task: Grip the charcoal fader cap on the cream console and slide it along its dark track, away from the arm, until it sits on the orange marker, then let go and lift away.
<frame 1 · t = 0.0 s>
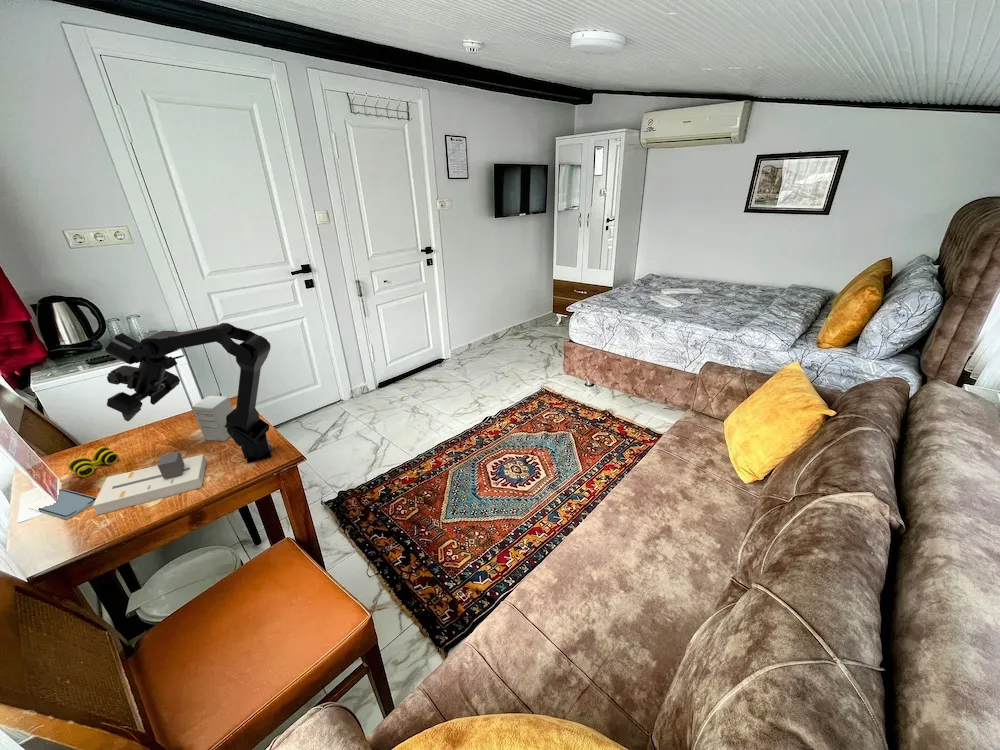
hand: (140, 411, 119), 15 cm above the table, tool tilted 35°, fingers open, 9 cm apart
console: (156, 486, 112), on the table
fader: (171, 464, 111), point 6 cm above the table, slide at -5.0 cm
opera glasses: (98, 468, 119), on the table
smartphone: (65, 505, 106), on the table
supplement box: (222, 434, 134), on the table
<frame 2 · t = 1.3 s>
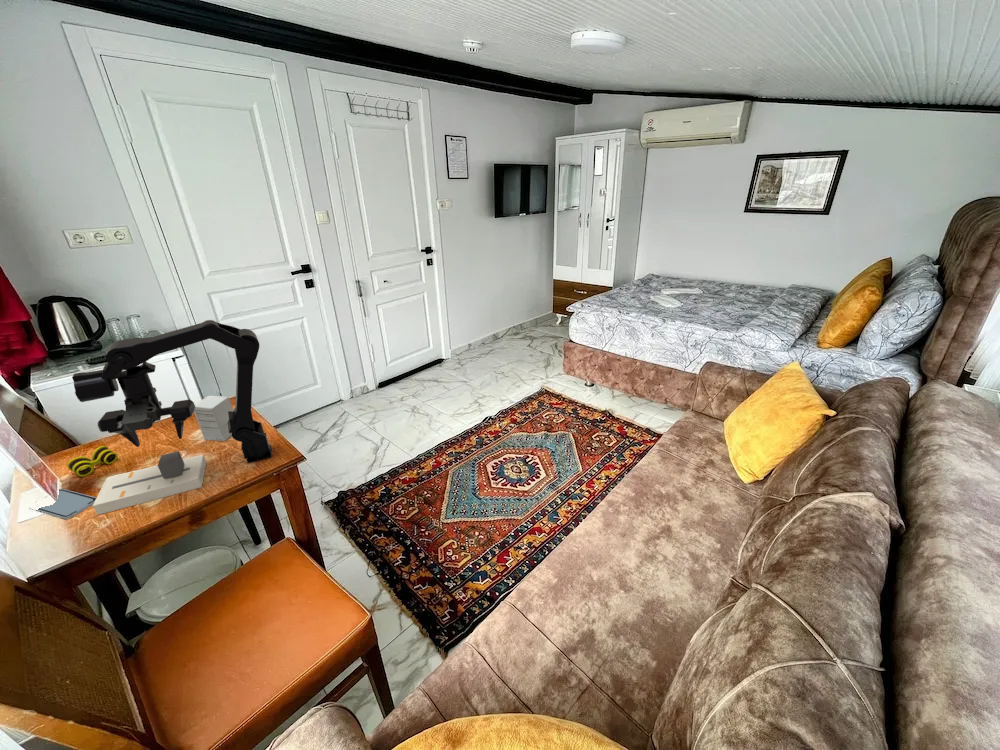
hand: (160, 442, 108), 13 cm above the table, tool pointing down, fingers open, 9 cm apart
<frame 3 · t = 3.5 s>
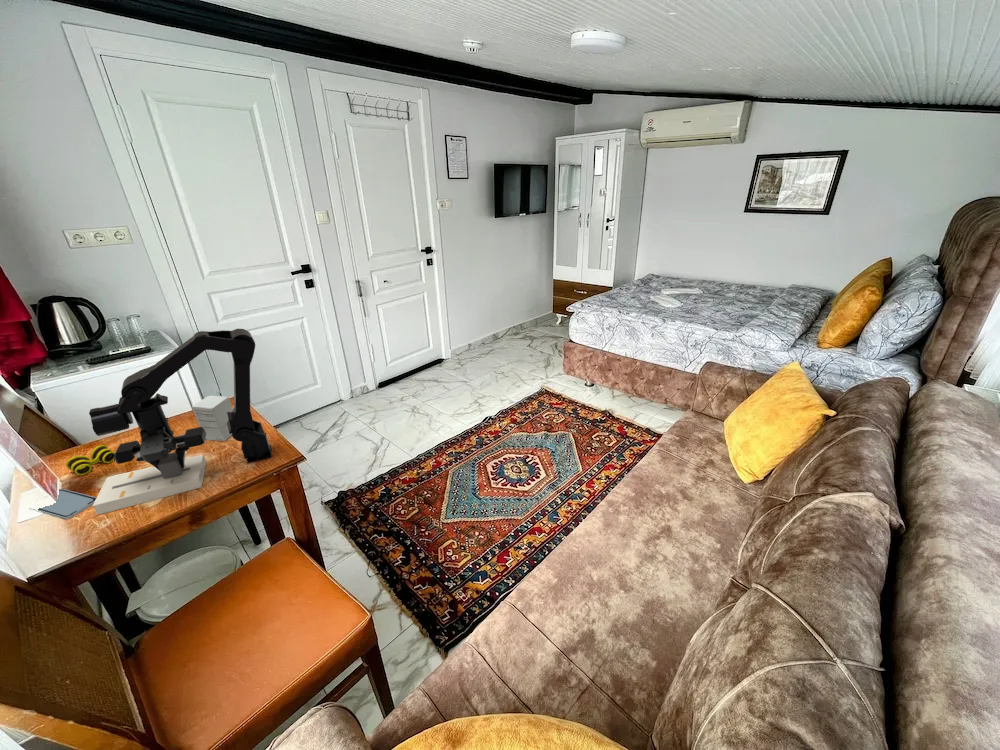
hand: (173, 469, 112), 4 cm above the table, tool pointing down, fingers closed on fader, 4 cm apart
fader: (171, 464, 111), point 6 cm above the table, slide at -5.0 cm, touching gripper
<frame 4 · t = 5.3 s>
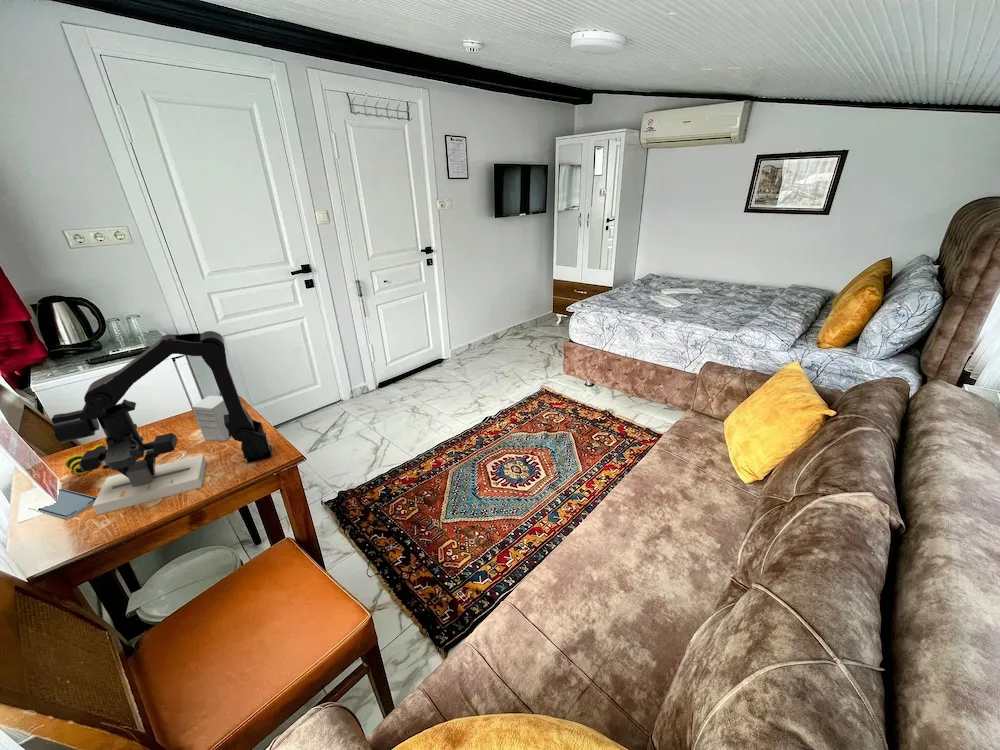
hand: (143, 476, 109), 4 cm above the table, tool pointing down, fingers closed on fader, 4 cm apart
fader: (141, 472, 109), point 6 cm above the table, slide at 1.6 cm, touching gripper
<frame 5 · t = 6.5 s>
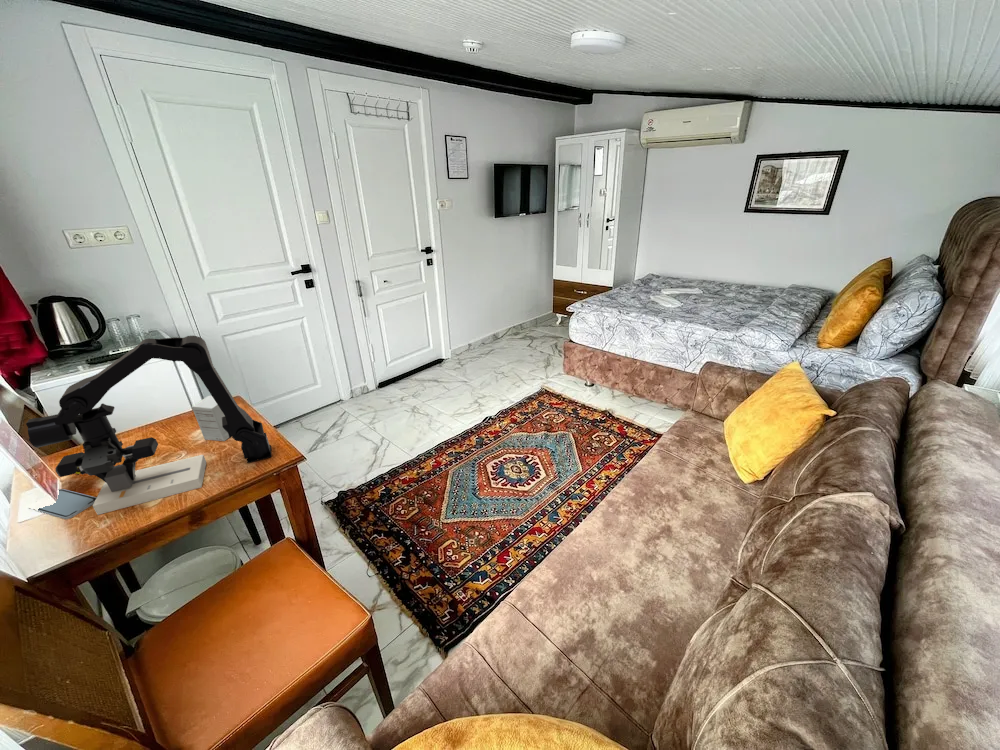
hand: (123, 481, 108), 4 cm above the table, tool pointing down, fingers closed on fader, 4 cm apart
fader: (120, 477, 107), point 6 cm above the table, slide at 5.9 cm, touching gripper
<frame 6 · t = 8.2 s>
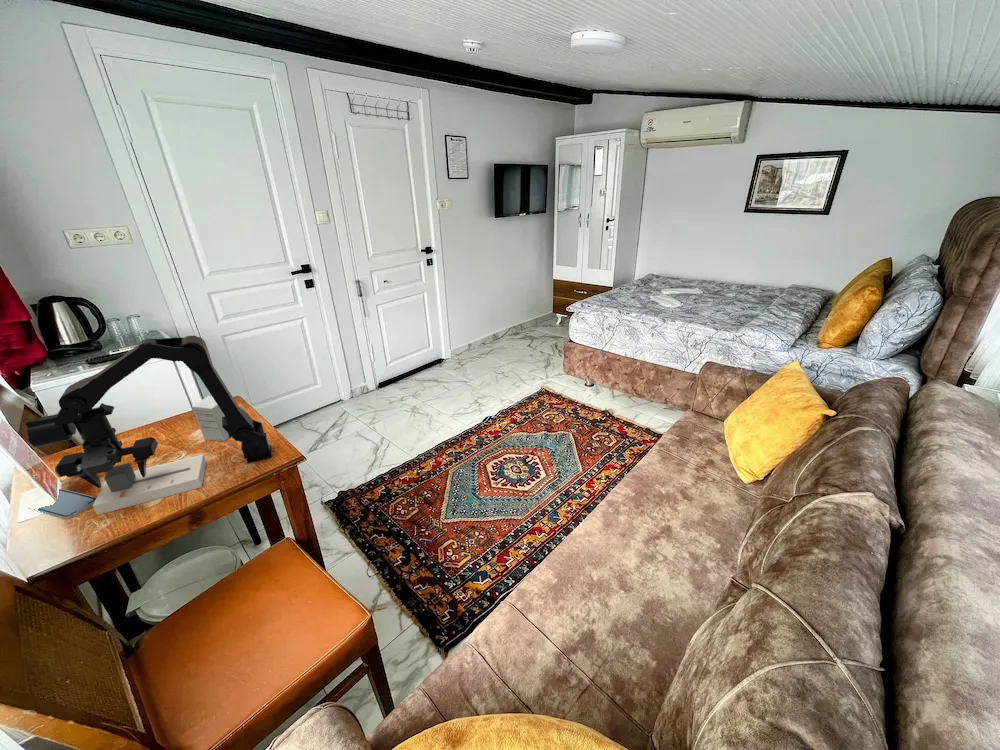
hand: (122, 481, 108), 4 cm above the table, tool pointing down, fingers open, 9 cm apart
fader: (120, 477, 107), point 6 cm above the table, slide at 6.0 cm
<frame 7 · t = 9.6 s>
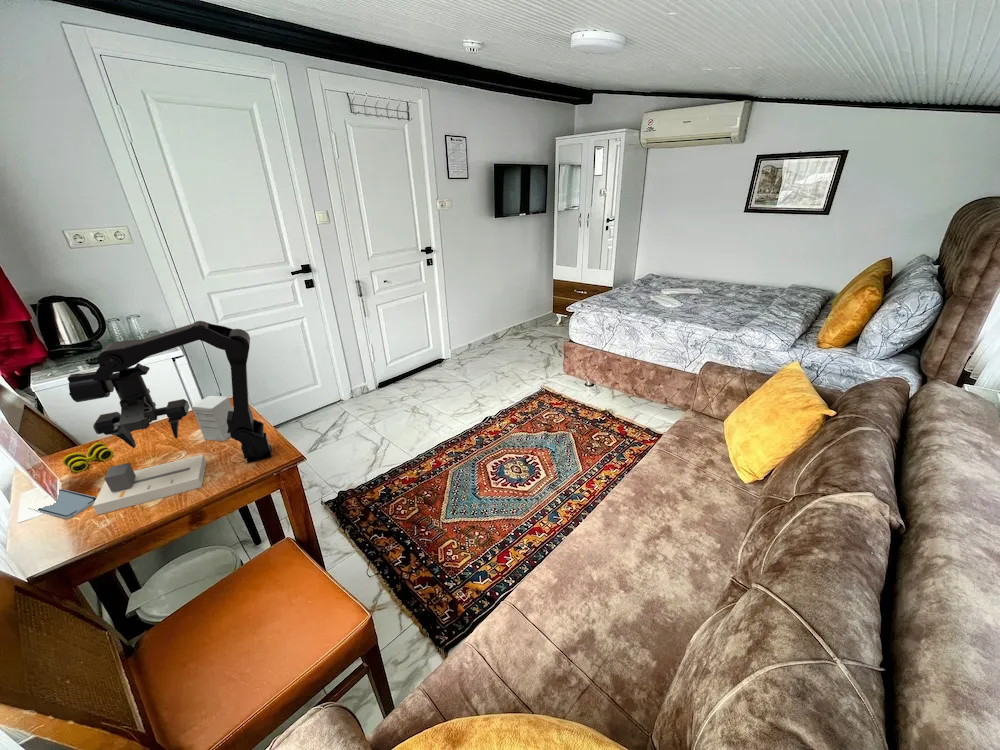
hand: (156, 442, 110), 12 cm above the table, tool pointing down, fingers open, 9 cm apart
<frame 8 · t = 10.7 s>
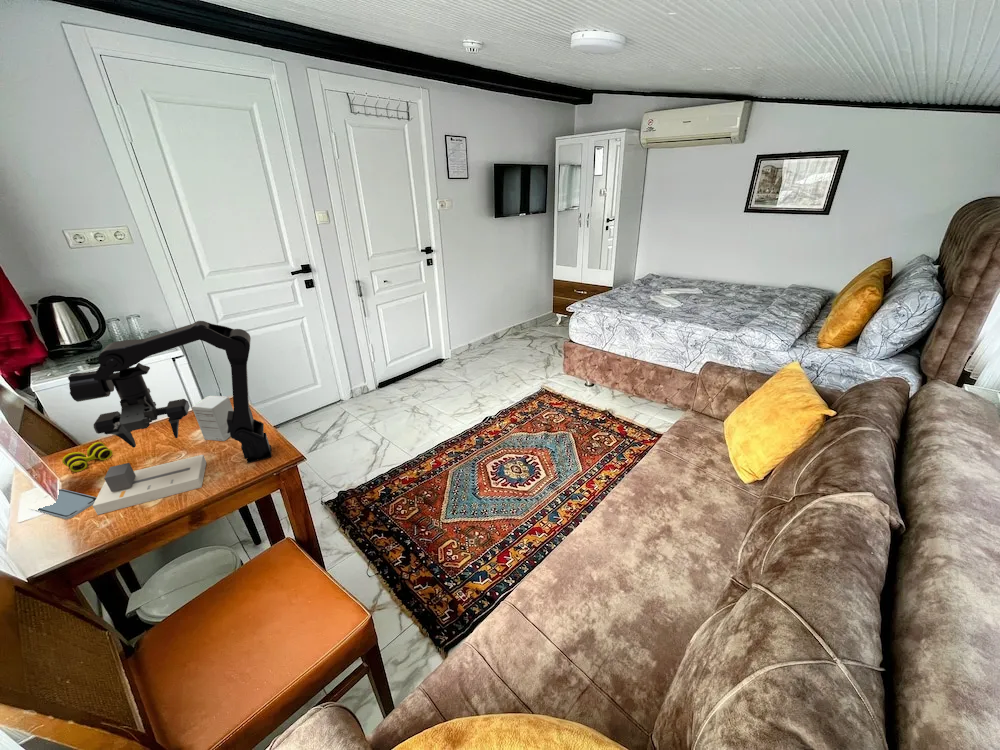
hand: (156, 441, 110), 12 cm above the table, tool pointing down, fingers open, 9 cm apart
at the end: fader slide at 6.0 cm; supplement box moved 0.2 cm from its start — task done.
